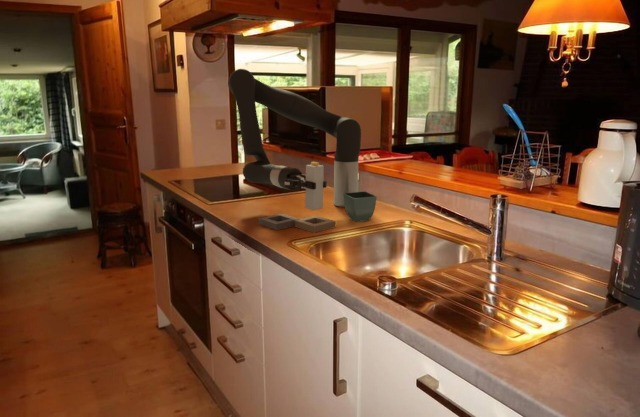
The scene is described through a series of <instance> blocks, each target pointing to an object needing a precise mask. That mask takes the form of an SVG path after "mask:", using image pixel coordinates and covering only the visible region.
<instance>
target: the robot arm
mask: <svg viewBox="0 0 640 417" xmlns="http://www.w3.org/2000/svg"><path fill="white" fill-rule="evenodd" d="M227 86H228V89H229V91H230V92H231V94H232V95H233V96H234V99H235V102H236V106H237V110H238V118H239V127H240V128H239V130H240V136H241V142H242V147H243V152H244V154H245V155H246V156H248V157H249V156H250V157H251V156H252V157H254V158H255V160H256V161H251V162H248V163H246V164H245V165H244V166H243V168H242V175H243V177H244V179H245V180H247V182H250V183H252V184H254V183H255V184H269V185H272V186H276V187H278V188H281V189H285V190H289V191H296V190H300V189H304V190H306V188H309V189H313V190H314V189H316V183H315V182H310V181H307V180H306V173H305V174H303V173H302V171H301V170H300V169H299V168H297V167H292V166H287V165H286V166H285V165H276V164H273V163H272V164H271V162H270V160H269V158H268V155H267V154H266V151H265V149H264V145H263V139H262V135H261V134H262V133H261V128H260V123H259V119H258V115H257V114H258V113H257V108H256V105H257V104H256V103H258V104H259V105H262V106H264V107H265V108H267V109H269V110H271V111H273V112H275V113H277V114H279V115H281V116H283V117H285V118H286V119H288V120H291V121H294V122H296V123H299V124H301V125H303V126H304V125H305V126H309V127H312V128H315V129H318V130H321V131H323V132H325V133H326V134H328V135H330V136H332V137H333V138H335V139H336V144H335V145H336V149H335V152H334V158H333V160H334V161H333V162H334V163H333V205H334V206H336V207H341V208H342V207H344V208H345V205H344V196H343V193H353V192H360V186H361V185H360V184H361V183H360V179H359V157H360V154H361V144H362V143H361V141H362V140H361V139H362V131H361V130H362V128H361V125H360V124H359V122H358V121H357V120H355V119H354V118H350V117H347V116H342V115H339V114H336V113H333V112H330V111H329V110H328V111H327V110H326V109H323V107H321V106H320V105H318V104H317V103H315V102H313V101H312V100H310V99H308V98H306V97H304V96H303V95H300V94H297V93H295V92H292V91H289V90H285V89H283V88H279V87H274V86H271V85H269V84H266V83H265V82H262V81H260V80H259V79H256V78H255V77H254V75H253V73H252V72H250V70H248V69H246V68H238V69H235V70H234V71H233V72H232V73H231V74H230V76H229V78H228V81H227ZM324 188H325V189H326V188H327V181H326V180H324V179H323V189H324Z"/></svg>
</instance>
